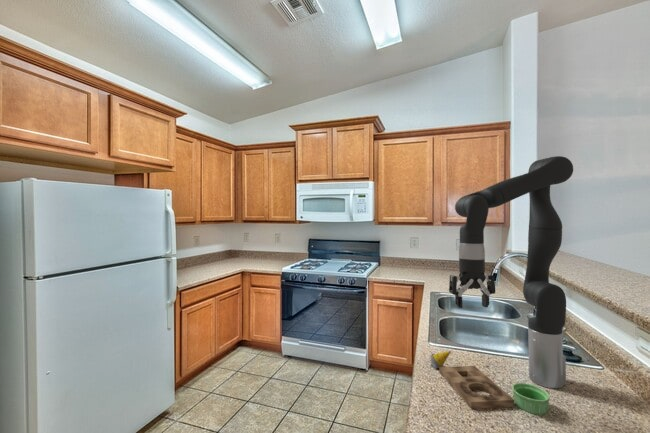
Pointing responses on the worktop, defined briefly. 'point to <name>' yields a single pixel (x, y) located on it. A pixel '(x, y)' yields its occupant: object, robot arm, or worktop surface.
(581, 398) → the worktop surface
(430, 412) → the worktop surface
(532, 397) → the ramekin
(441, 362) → the drill bit
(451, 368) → the socket board
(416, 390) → the worktop surface
